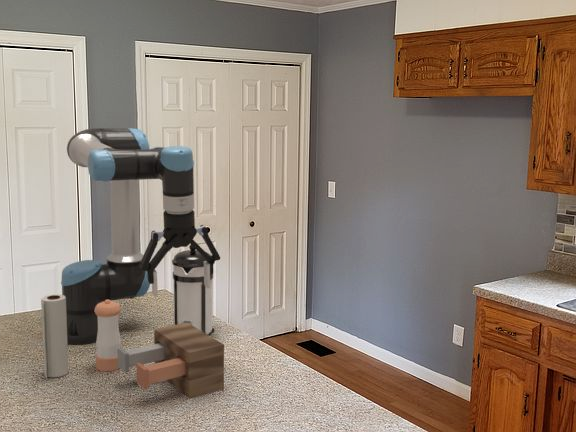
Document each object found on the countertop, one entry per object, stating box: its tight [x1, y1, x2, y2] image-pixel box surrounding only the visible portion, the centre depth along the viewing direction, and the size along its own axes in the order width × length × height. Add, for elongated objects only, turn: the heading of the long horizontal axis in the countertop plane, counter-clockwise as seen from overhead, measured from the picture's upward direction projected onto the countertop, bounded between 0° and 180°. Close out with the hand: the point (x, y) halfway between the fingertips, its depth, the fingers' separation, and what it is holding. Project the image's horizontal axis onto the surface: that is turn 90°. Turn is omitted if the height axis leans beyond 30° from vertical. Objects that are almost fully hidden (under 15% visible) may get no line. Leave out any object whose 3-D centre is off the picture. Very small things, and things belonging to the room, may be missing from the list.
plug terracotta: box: [135, 357, 186, 391], centre depth 157 cm, size 5×14×5 cm, turn 127°
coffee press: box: [171, 244, 215, 335], centre depth 198 cm, size 17×16×30 cm
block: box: [153, 323, 225, 399], centre depth 167 cm, size 20×10×12 cm, turn 37°
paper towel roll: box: [40, 294, 69, 381], centre depth 168 cm, size 7×6×21 cm
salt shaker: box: [94, 299, 122, 372], centre depth 174 cm, size 7×7×19 cm
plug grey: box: [117, 343, 165, 374], centre depth 166 cm, size 5×14×5 cm, turn 127°
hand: (181, 290), depth 160 cm, fingers open, 13 cm apart
